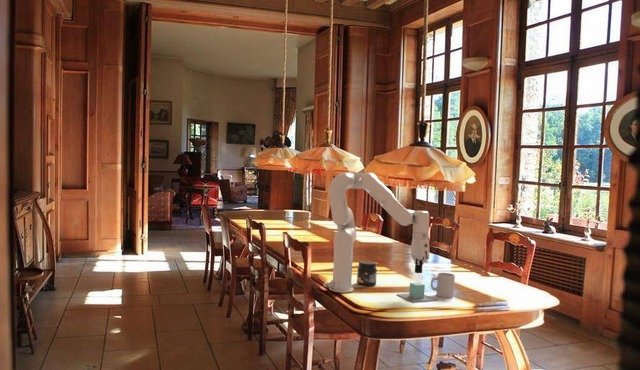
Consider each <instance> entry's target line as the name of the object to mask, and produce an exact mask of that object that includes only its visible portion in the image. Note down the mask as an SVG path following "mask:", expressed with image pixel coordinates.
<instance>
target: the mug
mask: <svg viewBox="0 0 640 370" xmlns="http://www.w3.org/2000/svg"><path fill="white" fill-rule="evenodd" d="M455 278H456V275H455V274H454V273H450V272H439V273H437V276H434V277H432V278H431V281H430V289H431V290H432V291H436V294H435V295H436V296H437V297H439V298H445V299H450V298H454V297H455V296H454V293H455V281H456V280H455ZM434 281H437V282H436V284H437V285H436V287H435V286H434Z"/></svg>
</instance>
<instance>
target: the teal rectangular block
mask: <svg viewBox="0 0 640 370" xmlns="http://www.w3.org/2000/svg"><path fill="white" fill-rule="evenodd" d="M425 285H426V284H424V283H421V282H419V281H418V282H409V293H408V294H409V296H410V297H412V298H415V299H418V298H424V295H425V289H426V287H425Z"/></svg>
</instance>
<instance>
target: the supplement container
mask: <svg viewBox="0 0 640 370" xmlns="http://www.w3.org/2000/svg"><path fill="white" fill-rule="evenodd" d="M356 270H357V271H356V272H357V273H356V284H357V285H358V286H362V287H367V288H369V287H374V286H376V285H377V272H378V269H377V262H375V261H371V260H361V261H358V266H357V269H356Z"/></svg>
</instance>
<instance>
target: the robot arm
mask: <svg viewBox="0 0 640 370" xmlns="http://www.w3.org/2000/svg"><path fill="white" fill-rule="evenodd" d="M348 189H359V190H360V189H361V190H362V189H363V190H364V191H365V192H366V193H368V195H370V196H371V197H372V199H374V200H375V201H376V203H378V204H379V205H380V207H382V208H383V209H384V210H385V212H387V214H388V215H390V216H391V217H392V219H394V220H395V221H396V223H398V224H399V225H401V226H403V227H404V226H405V227H407V226H409V225H410V224H411V225H412V237H411V238H412V240H411V244H410V256H411V259H412V261H414V266H415V267H414V273H415V274H423V265H424V263H427V262H428V261H427V260H429V259H430V241H429V227H430V226H429V225H430V213H429V211H427V210H415V209H414V210H412V209H410V208H409V209H408V208H405V206H403V205H402V204H401V203H400V202H399V201H398V199H397V198H396V197H395V195H394V193H393V192H392V191H391V190H390V189H389V188H388V187H387V186H386V185H385V184H384V183H383V182H382V181H381V180H380V179H379V178H378V176H377V175H376V174H375V173H374V172H370V171H369V172H354V171H353V172H350V171H349V172H348V171H347V172H341V173H339V174H337V175H336V176H334V177H333V178H332V179H331V181H330V183H329V187H328V195H329V203H330V205H329V206H330V211H331V218H332V221H333V223H334V225H336V227H337V231H336V232H335V234H334V237H333V264H332V265H333V267H332V268H333V270H332V271H333V272H332V280H330V281H329V282H323V286H324V288H325V287H326V288H327V287H328V288H329V291H332V292H334V293H341V294H342V293H344V294H347V293H353V292H354V291H355V288H354V286H352V279H353V278H352V275H353V273H352V272H353V255H354V253H353V251H354V249H353V248H354V247H353V246H354V242H355V241H356V239H357V230H356V229H357V228H356V222H355V218H354V217H355V216H354V213H353V210H352V209H351V208H350V207H348V201H347V200H348V199H347V195H346V190H348Z"/></svg>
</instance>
